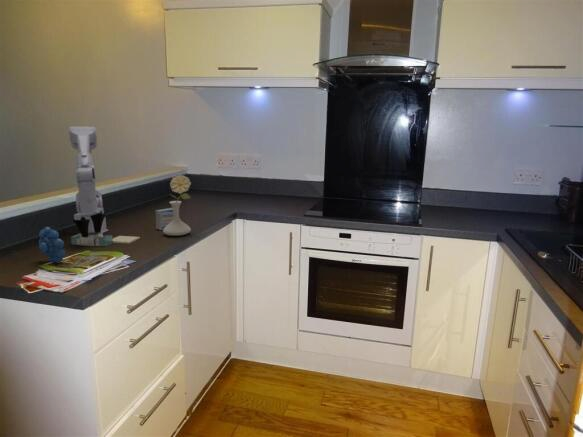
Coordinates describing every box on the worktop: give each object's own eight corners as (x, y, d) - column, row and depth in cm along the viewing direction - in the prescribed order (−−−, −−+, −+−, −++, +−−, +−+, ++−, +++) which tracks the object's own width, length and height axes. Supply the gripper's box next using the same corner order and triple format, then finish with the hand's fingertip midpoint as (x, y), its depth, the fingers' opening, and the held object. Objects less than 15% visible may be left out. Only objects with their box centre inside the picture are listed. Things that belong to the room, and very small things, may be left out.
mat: (119, 237, 173) (119, 235, 173) (140, 238, 172) (139, 236, 171) (107, 242, 166) (107, 240, 165) (128, 243, 164) (128, 242, 164)
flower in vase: (157, 236, 174) (153, 175, 169) (172, 230, 185) (169, 172, 180) (186, 239, 171) (183, 176, 166) (199, 232, 182) (197, 173, 176)
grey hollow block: (90, 241, 167) (89, 231, 166) (103, 242, 166) (102, 232, 165) (81, 245, 161) (80, 235, 161) (94, 246, 160) (93, 235, 159)
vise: (80, 241, 167) (79, 233, 167) (113, 243, 165) (112, 235, 164) (71, 244, 162) (70, 236, 162) (105, 246, 160) (104, 238, 159)
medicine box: (161, 231, 184) (160, 211, 182) (156, 229, 187) (154, 209, 185) (177, 227, 190) (176, 208, 188) (172, 226, 193) (171, 207, 191)
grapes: (30, 263, 140) (25, 227, 137) (49, 258, 146) (45, 223, 143) (52, 269, 135) (47, 232, 132) (71, 263, 140) (67, 227, 138)
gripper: (84, 203, 152) (88, 240, 155) (109, 196, 166) (112, 230, 169) (67, 202, 154) (71, 239, 156) (93, 196, 167) (96, 229, 170)
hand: (91, 234), depth 163 cm, fingers open, 7 cm apart
